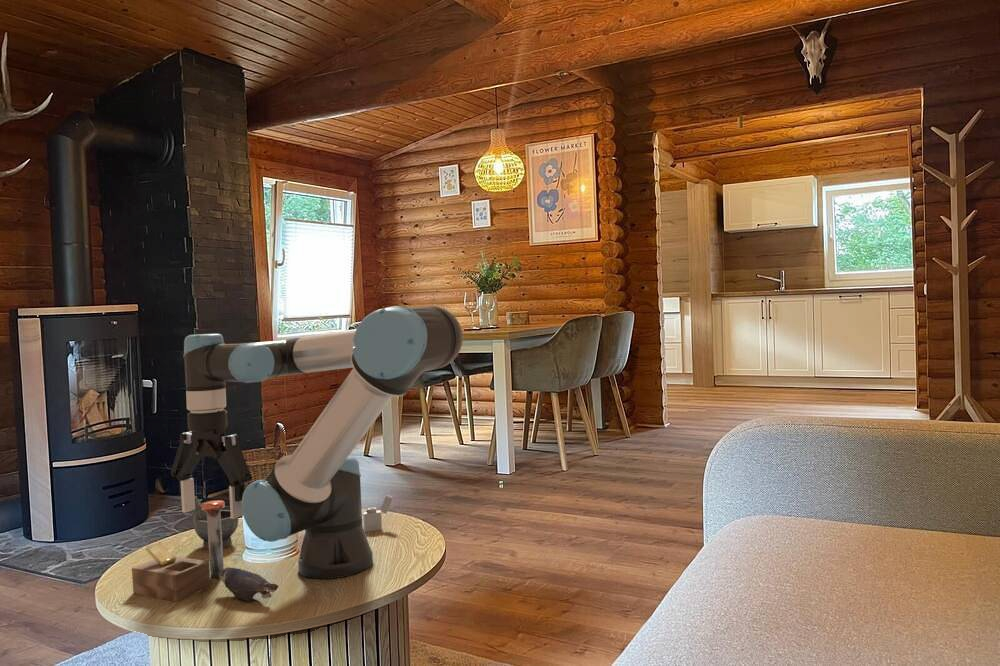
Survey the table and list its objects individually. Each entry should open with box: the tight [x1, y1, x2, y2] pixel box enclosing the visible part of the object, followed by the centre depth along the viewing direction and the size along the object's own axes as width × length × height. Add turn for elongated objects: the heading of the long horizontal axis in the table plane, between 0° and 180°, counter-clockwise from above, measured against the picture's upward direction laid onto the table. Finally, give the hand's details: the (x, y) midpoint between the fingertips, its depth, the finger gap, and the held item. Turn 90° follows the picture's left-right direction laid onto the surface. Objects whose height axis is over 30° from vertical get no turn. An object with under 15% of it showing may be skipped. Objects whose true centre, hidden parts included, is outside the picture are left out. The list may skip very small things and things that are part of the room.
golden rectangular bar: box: [145, 541, 176, 567], centre depth 150 cm, size 5×3×1 cm
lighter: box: [362, 494, 394, 533], centre depth 184 cm, size 7×2×8 cm, turn 107°
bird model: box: [218, 566, 279, 602], centre depth 143 cm, size 4×17×5 cm, turn 56°
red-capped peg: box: [201, 500, 226, 579], centre depth 155 cm, size 4×4×15 cm
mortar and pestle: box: [191, 495, 239, 550], centre depth 177 cm, size 11×9×12 cm
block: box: [131, 555, 211, 602], centre depth 149 cm, size 12×8×5 cm, turn 64°
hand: (212, 513), depth 155 cm, fingers open, 13 cm apart
